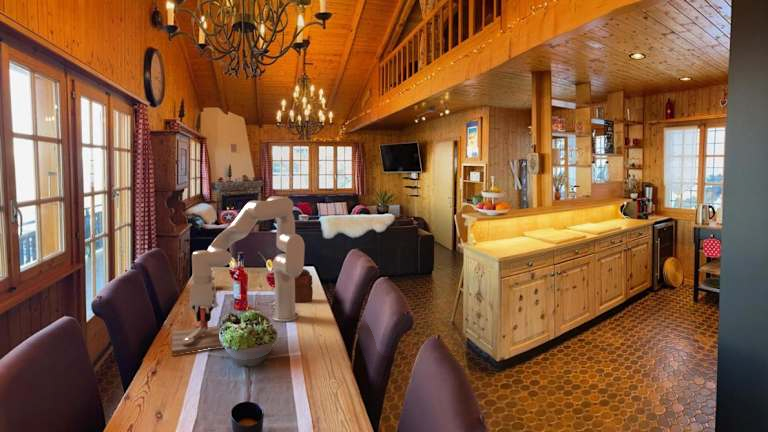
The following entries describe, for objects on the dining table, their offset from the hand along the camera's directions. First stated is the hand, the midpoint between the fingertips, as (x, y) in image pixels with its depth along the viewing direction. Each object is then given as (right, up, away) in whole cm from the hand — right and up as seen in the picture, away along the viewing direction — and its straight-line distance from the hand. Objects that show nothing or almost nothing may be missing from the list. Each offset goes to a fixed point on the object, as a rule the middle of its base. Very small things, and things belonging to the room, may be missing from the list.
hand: (203, 320), depth 195 cm
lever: (0, -6, -7) cm, 9 cm away
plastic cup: (-30, +1, +75) cm, 81 cm away
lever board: (-1, -8, -5) cm, 9 cm away
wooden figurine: (+33, -2, +53) cm, 63 cm away
